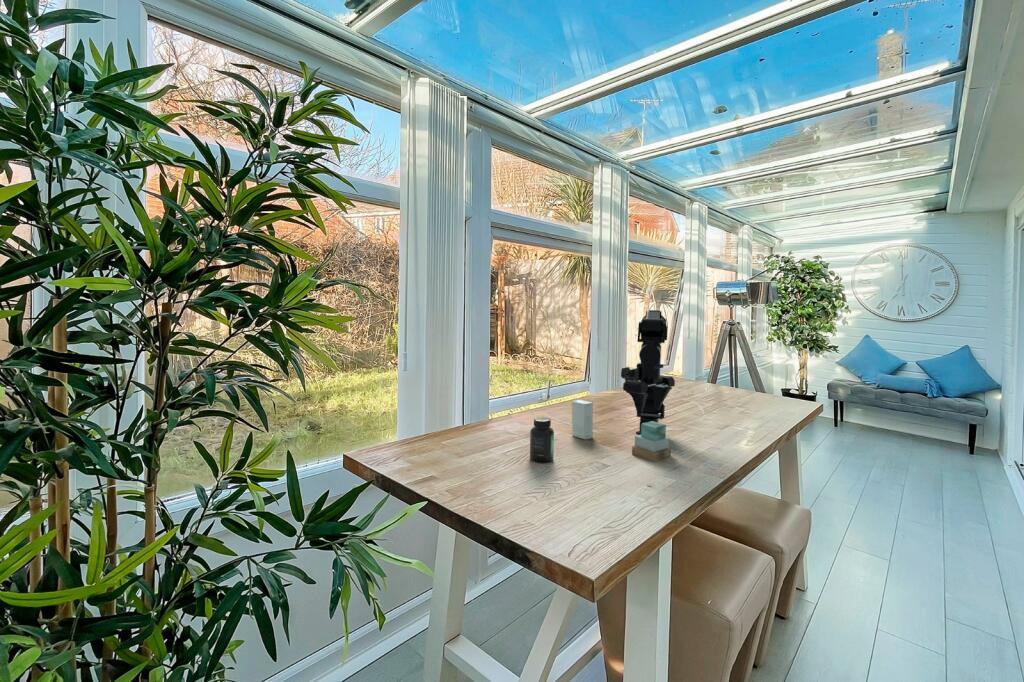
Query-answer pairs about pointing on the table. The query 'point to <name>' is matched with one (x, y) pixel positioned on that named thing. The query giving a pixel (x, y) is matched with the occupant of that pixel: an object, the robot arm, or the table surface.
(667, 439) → the slate-grey top block
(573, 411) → the skincare box
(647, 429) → the teal cube
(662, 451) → the walnut base block
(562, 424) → the table surface
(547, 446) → the supplement bottle
